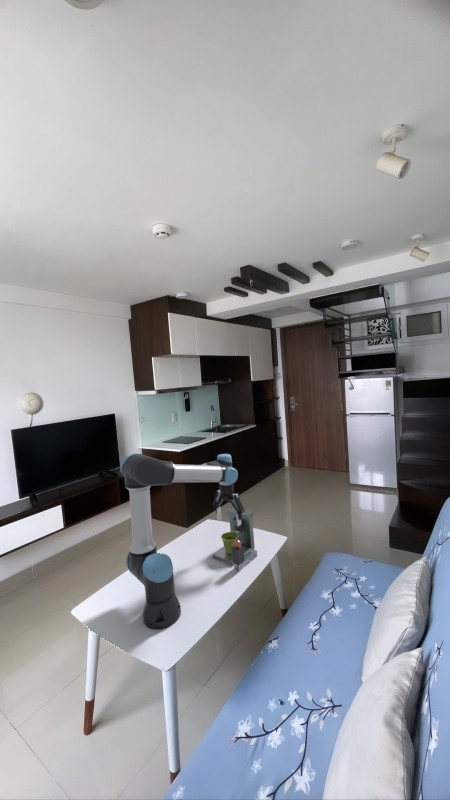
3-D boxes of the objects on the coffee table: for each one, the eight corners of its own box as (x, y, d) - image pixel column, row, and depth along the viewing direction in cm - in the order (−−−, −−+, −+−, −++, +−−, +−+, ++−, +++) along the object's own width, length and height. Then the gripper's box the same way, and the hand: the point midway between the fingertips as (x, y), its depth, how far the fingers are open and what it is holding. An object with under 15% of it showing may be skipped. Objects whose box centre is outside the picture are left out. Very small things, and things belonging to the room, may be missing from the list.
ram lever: (239, 565, 156) (237, 543, 156) (233, 562, 159) (231, 540, 158) (244, 561, 160) (242, 539, 159) (237, 558, 162) (236, 537, 161)
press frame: (239, 571, 157) (236, 531, 156) (209, 559, 169) (206, 522, 168) (264, 550, 175) (261, 513, 173) (236, 540, 187) (233, 506, 186)
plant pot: (219, 550, 174) (218, 534, 174) (234, 545, 178) (233, 530, 178) (226, 558, 166) (225, 542, 165) (242, 552, 170) (241, 537, 169)
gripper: (249, 484, 165) (252, 524, 166) (213, 478, 181) (216, 514, 182) (240, 489, 160) (243, 530, 161) (204, 482, 175) (207, 519, 177)
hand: (229, 522), depth 172 cm, fingers open, 13 cm apart
